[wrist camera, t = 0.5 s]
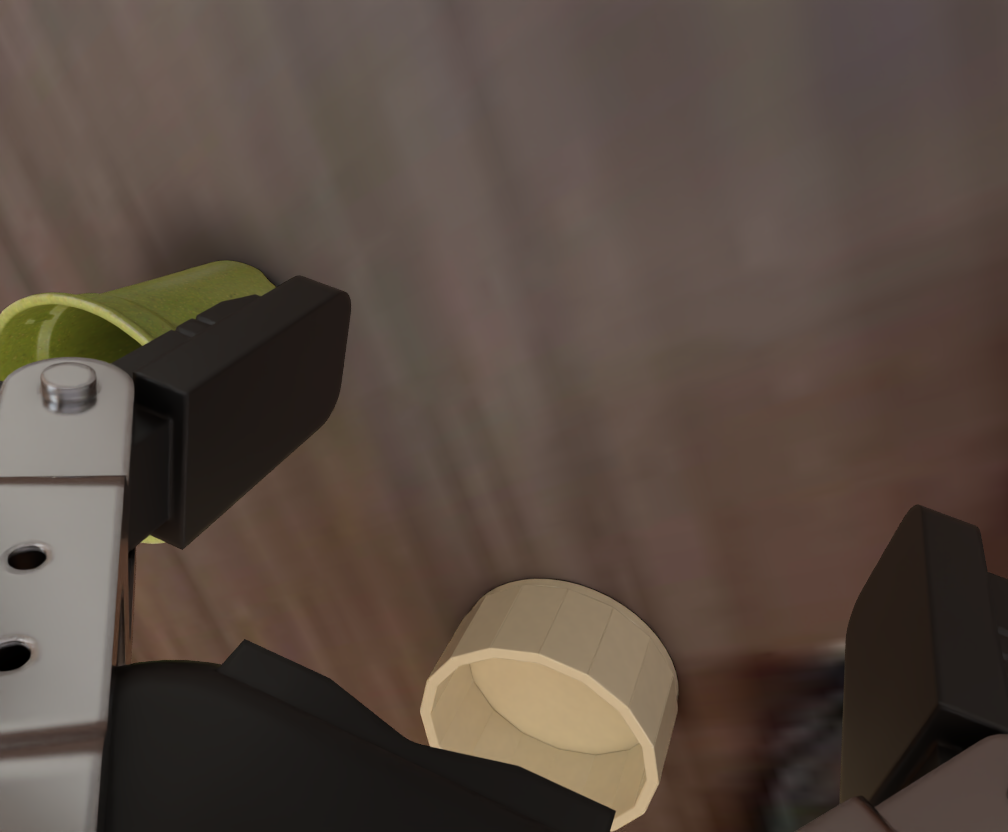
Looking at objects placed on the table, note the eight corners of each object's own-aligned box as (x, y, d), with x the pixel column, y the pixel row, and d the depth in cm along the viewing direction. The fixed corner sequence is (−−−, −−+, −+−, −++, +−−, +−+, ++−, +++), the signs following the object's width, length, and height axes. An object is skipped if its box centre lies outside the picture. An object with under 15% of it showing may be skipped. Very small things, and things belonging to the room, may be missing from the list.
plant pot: (192, 426, 41) (47, 534, 34) (121, 225, 37) (-61, 300, 30) (369, 432, 37) (249, 554, 30) (312, 209, 33) (158, 290, 26)
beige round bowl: (484, 544, 38) (441, 612, 34) (710, 637, 36) (690, 719, 33) (446, 696, 44) (406, 768, 40) (641, 783, 42) (618, 868, 38)
